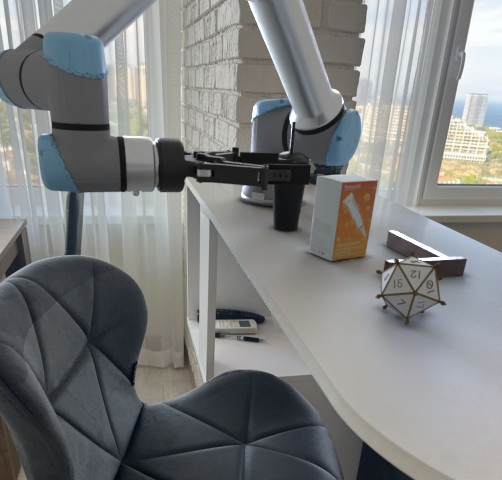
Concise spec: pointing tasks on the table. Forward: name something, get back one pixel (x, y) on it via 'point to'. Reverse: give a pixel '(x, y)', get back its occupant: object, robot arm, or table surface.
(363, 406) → the table surface
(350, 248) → the small box
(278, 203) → the drinking cup
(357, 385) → the table surface
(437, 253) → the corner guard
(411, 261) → the game die
